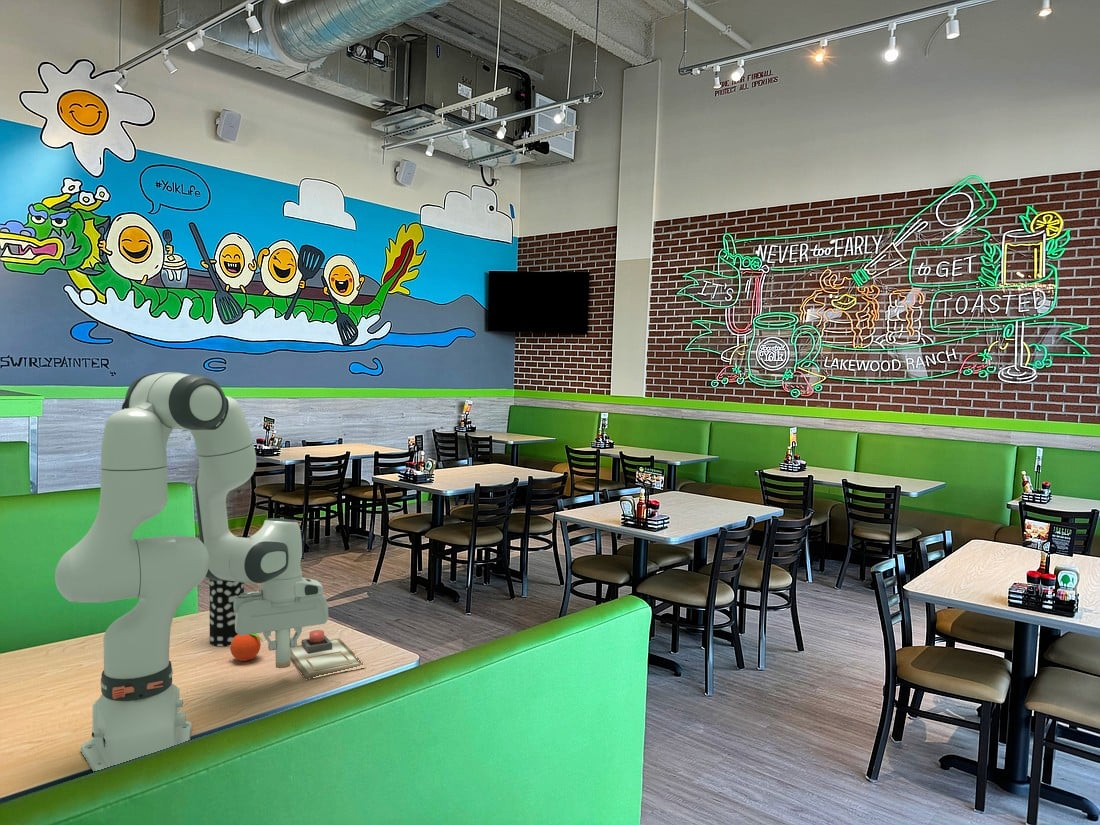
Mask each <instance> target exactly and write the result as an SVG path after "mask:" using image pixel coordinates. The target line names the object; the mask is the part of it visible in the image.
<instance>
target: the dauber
mask: <svg viewBox="0 0 1100 825" xmlns="http://www.w3.org/2000/svg"><path fill="white" fill-rule="evenodd" d="M274 632H275V637H274V638H275V640H274V641H275V642H276V650H275V668H276V669H286V668H289V667H290V666H291V660H290V638H291V629H284V630H278V631H274Z"/></svg>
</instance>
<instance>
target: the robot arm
mask: <svg viewBox="0 0 1100 825" xmlns="http://www.w3.org/2000/svg"><path fill="white" fill-rule="evenodd" d="M103 430H104V431H103V434H102V435H103V436H102V441H101V451H100V491H99V492H100V494H99V495H100V496H99V504H98V509H97V514H96V517H95V519H94V521H93V523H92V525H91V527H90V528H89V530H88V532H87V533H86V534H85V535H84V536H83V537H82V538H81V540H79V541H78V542H77V543H76V544H75V545H74V546H73V547H71V548H69V550H67V551H65V553H64V554H63V555H62V556H61V558H60V559H59V560H58V562H57V564H56V567H55V573H54V582H55V586H56V588H57V591H58V592H59V593H60V595H61V596H62V597H63V598H64V599H65V600H66V601H68V602H70V603H84V604H85V603H86V604H87V603H88V604H91V603H92V604H93V603H94V604H96V603H97V604H99V603H106V602H112V601H120V600H125V599H133V598H135V599H138V598H139V600H138V602H137V603H136V605H135V606H134V607H133V608H132V609H131V610H129V611H128V612H127V613H125V614H123V615H121V616H119V617H118V618H116V619H115V620H114V621H113V622H112V623H110V625H109V626H108V627H107V628H106V630H105V632H104V634H103V670H102V672H101V675H100V676H101V677H100V686H101V687H100V691H101V694H100V697H98V699H96V701H95V702H94V703H93V704H92V715H91V716H92V717H91V718H92V721H91V722H92V726H91V728H92V730H91V731H92V732H91V738H90V739H89V740H87V741H85V742H83V743H82V744H81V746H80V753H81V752H82V753H81V755H82V756H83V755H84V756H83V757H85V758H86V759H85V758H84V759H85V761H86V760H87V761H88V762H87V761H86V762H87V764H88V763H89V764H88V765H89V767H90V769H91V770H92V771H93V772H94V771H97V770H101V769H104V768H107V767H110V766H113V765H117V764H120V763H123V762H126V761H129V760H132V759H135V758H138V757H141V756H144V755H148V754H151V753H154V752H157V751H160V750H163V749H166V748H169V747H171V746H174V745H177V744H180V743H183V742H185V741H188V740H190V741H191V735H192V729H193V726H192V722H191V721H190V720H187V714H186V712H180V710H181V709H180V708H183V706H184V700H183V699H181V698H180V687H178V686H177V685H175V683H173V672H174V671H173V667H172V661H171V660H170V643H171V642H170V641H171V631H172V630H171V628H172V625H173V624H172V623H173V619H174V617H175V615H176V612H177V611H178V608H179V606H180V605H181V604H182V602H183V601H184V599H185V598H186V597H187V596H188V595H189V594H190V592H191V591H192V590H194V589H195V588H196V587H198V586H199V585H200V584H201V583H202V582H203V580H205V578H207V579H208V580H209V579H210V580H214V581H235V582H244V584H245V583H247V584H261V590H255V591H254V590H253V591H250V592H245V591H244V593H241V595H239V596H237V597H236V598H235V599H234V602H233V606H234V611H235V612H236V617H235V631H236V633H237V634H238V635H240V636H242V635H249V634H263V637H264V639H265V640H266V641H267V644H268V645H267V646H268V647H267V648H268V651H269V652H271V651H276V642H275V640H271V638H270V637H271V636H272V634H271V633H272V632H275V631H278V630H284V629H290V630H292V629H293V630H294V634H293V636H292V637H290V648H291V647H297V646H298V639H299V637H300V636H301V634H302V632H303V628H305V627H311V626H318V625H325V624H326V623H327V622H328V621H329V606H328V601H327V598H326V597H325V595H324V594H323V592H324V587H323V584H322V582H320V581H319V580H317V579H312V578H307V577H303V571H302V568H301V567H302V566H301V560H302V557H303V542H302V541H303V540H302V532H301V528H300V527H301V526H300V525H299V522H297V521H296V520H293V519H288V518H275V517H274V518H272V517H271V518H266V519H265V520H264V522H263V525H262V526H261V527H260V529H259V530H258V531H257V532H255V533H254V534H253V535H251V536H249V537H243V536H236V535H234V534H233V533H232V532H231V531H230V528H229V522H228V511H227V503H226V502H227V496H228V494H229V492H230V491H233V490H234V489H237V488H239V487H241V486H242V485H244V484H245V483H246V482H248V480H250V479H251V478H252V476H253V475H254V472H255V470H256V468H257V454H256V449H255V445H254V441H253V438H252V434H251V433H252V432H251V430H250V426H249V423H248V420H247V418H246V415H245V414H244V411H243V409H242V406H241V405H240V403H239V402H238V400H236V399H235V398H233V397H231V396H228V395H225V392H224V391H223V389H222V387H220V385H219V383H217V382H216V381H215V380H214V379H211V378H209V377H206V376H204V375H200V374H189V373H188V374H187V373H181V372H179V371H178V372H177V371H172V372H170V371H169V372H168V371H167V372H151V373H147V374H143V375H141V376H139V377H137V378H136V379H135V380H133V381H132V382H131V383H130V385H129V387H128V389H127V391H126V394H125V397H124V401H123V403H122V405H121V410H117V411H115V412H113V413H112V414H110V416H109V417H108V418H107V420H106V421H105V425H104V429H103ZM173 430H188V431H189V432H190V434H191V435H192V438H193V440H194V446H195V450H196V454H197V458H198V459H197V460H198V468H199V469H198V474H197V476H196V478H195V484H194V497H195V507H196V515H197V525H198V534H199V538H198V537H196V536H187V535H173V534H172V535H162V536H153V537H151V536H150V537H145V538H144V537H143V538H132V536H133V534H134V531H135V530H136V529H137V528H138V527H139V526H141V525H142V524H143V523H145V522H148V521H150V520H151V519H152V518H154V517H156V516H157V515H159V514H160V513H161V512H162V511H163V510H164V509H165V507H166V505H167V503H168V456H167V445H168V441H169V438H170V435H171V433H172V432H173ZM239 597H241V598H239Z"/></svg>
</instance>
